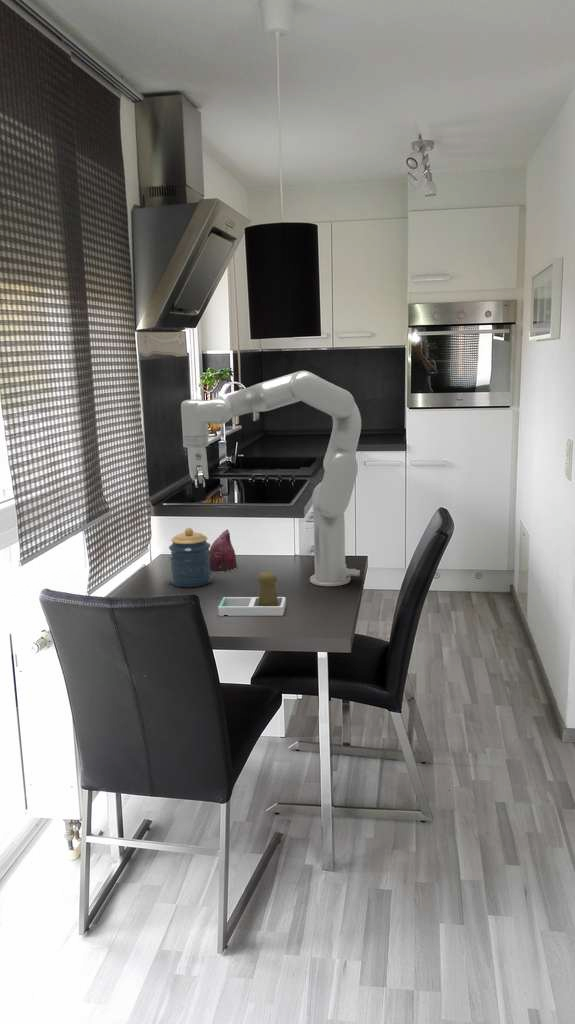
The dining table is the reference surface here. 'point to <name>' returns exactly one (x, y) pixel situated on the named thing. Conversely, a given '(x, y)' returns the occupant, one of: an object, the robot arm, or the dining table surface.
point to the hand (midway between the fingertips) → (199, 497)
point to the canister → (190, 560)
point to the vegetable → (222, 553)
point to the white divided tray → (249, 607)
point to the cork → (267, 589)
